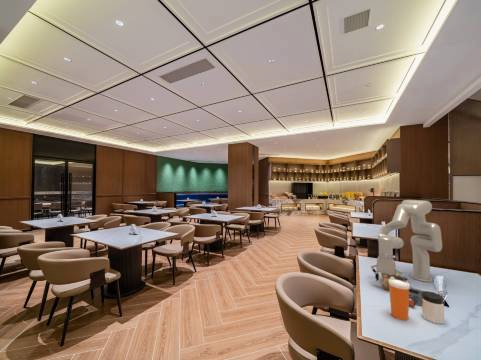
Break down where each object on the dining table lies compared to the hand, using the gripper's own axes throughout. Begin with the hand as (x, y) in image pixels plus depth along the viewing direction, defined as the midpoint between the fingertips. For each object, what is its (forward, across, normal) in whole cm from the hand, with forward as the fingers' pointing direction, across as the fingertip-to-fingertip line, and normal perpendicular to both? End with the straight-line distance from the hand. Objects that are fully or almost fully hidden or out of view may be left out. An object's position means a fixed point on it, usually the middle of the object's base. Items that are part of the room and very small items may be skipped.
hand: (386, 282), depth 137 cm
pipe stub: (+5, 0, 0) cm, 5 cm away
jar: (+5, -24, +19) cm, 31 cm away
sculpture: (+5, 0, -14) cm, 15 cm away
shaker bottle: (+5, -12, +29) cm, 31 cm away
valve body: (+5, -14, +5) cm, 16 cm away
